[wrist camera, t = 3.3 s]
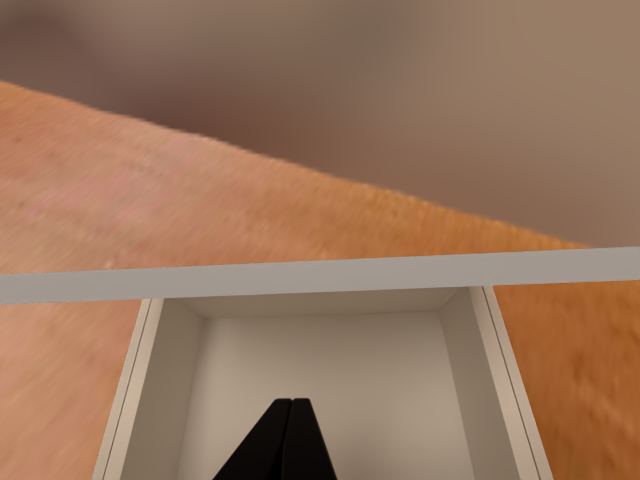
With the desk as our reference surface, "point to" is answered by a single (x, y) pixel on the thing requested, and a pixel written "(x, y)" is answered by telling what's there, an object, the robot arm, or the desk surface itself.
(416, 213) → the desk surface
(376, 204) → the desk surface
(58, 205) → the desk surface
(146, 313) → the carton
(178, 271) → the carton flap
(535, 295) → the desk surface
